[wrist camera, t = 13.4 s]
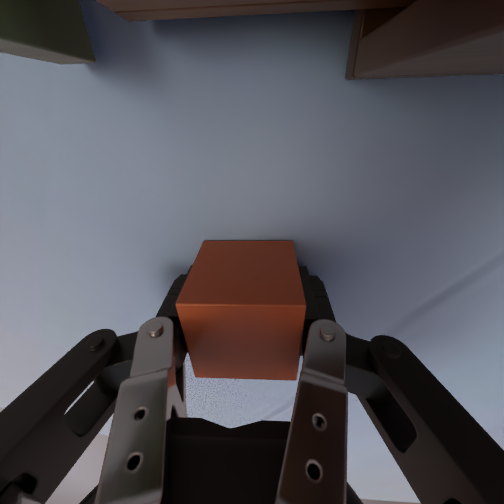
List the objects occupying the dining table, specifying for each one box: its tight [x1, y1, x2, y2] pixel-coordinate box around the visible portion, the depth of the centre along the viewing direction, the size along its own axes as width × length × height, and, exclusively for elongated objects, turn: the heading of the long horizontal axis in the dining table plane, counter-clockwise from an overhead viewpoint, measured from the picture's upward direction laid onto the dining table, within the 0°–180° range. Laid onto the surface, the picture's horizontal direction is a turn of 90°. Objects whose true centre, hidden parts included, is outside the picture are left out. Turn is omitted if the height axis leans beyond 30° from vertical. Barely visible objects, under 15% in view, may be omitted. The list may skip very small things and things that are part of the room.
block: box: [176, 241, 306, 380], centre depth 11 cm, size 4×4×4 cm
